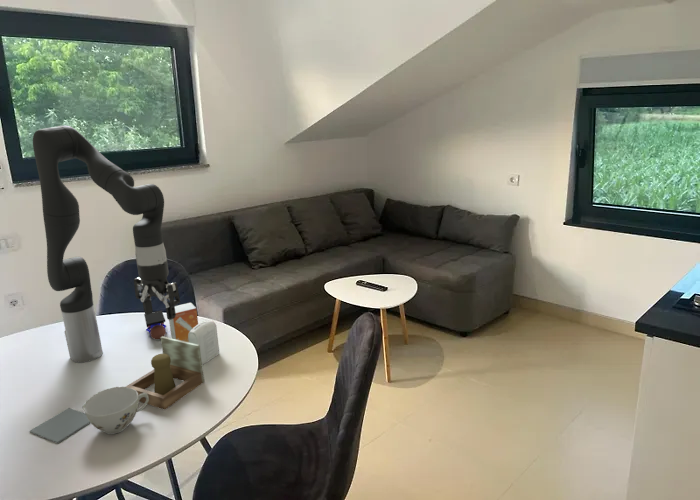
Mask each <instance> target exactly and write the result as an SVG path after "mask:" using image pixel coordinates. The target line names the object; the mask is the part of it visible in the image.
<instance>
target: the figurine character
mask: <svg viewBox="0 0 700 500" xmlns="http://www.w3.org/2000/svg"><path fill="white" fill-rule="evenodd" d="M143 315H144V320H145V326H146V329H145V331H146V332H148V333H149V334H150V337H151V338H152V339H153V340H161V338H160V337H162V336H164V337H166V331H167V330H166V327H167V325H166V324H165V322H166V317H165V316H164V312H163V310H162V309H161V310H156V311H153V312H152V313H150V314H148V315H147V314H145V313H143Z"/></svg>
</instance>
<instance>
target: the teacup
mask: <svg viewBox="0 0 700 500" xmlns="http://www.w3.org/2000/svg"><path fill="white" fill-rule="evenodd" d="M142 397H145V398H146V402H145V403H142V405H141V406H140V407H139V403H140V402H139V400H140V399H141V398H142ZM148 401H149V397H148V394H147V393H142V394H140V395H138V393H137V391H136V390H134V389H132V388H127V387H126V386H115V387H110V388H106V389H103V390H100V391H99V392H97V393H95V394H93V395H92V396H90V398H89V399H87V400H86V401H85V403H84V404H83V406H82V409H83V413H85V414H86V416H87V418H88V420H89V421H90V422H91V423H90V424H91V425H92V426H93V427H94V428H95V429H97V430H98V431H101V432H104V433H105V434H109V435H112V434H113V435H114V434H118V433H121V432H123V431H124V430H125V429H126V428H127V427H129V425H130V424H131V423H132V421H133V420H134V418H135V417H136V414H137V413H139V412H140V411H142V410H143V409H145V407H146V406H147V405H148V404H147V403H148Z"/></svg>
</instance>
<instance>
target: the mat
mask: <svg viewBox="0 0 700 500" xmlns="http://www.w3.org/2000/svg"><path fill="white" fill-rule="evenodd" d="M90 424H91V422H90V421H89V420H88V418H87V416H86V414H85V412H84V411H83V412H82V411H81V410H80V411H79V410H77V409H74V408H73V407H72V408H71V407H68V408H65V410H62V411H61V412H59V413H57V414H56V415H55V416H53V417H51V418H49V419H47V420H45V421H44V422H42V423H41V424H39V425H37V426H35V427H33V428H31V429H29V433H31V434H33V435H36V436H37V437H41V438H43V439H45V440H49V441H50V442H53V443H55V444H59V443H61V442H62V441H64V440H66V439H67V438H69V437H71V436H72V435H74V434H75V433H77V432H78V431H80V430H82V429H83V428H85V427H86V426H88V425H90Z"/></svg>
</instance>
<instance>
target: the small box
mask: <svg viewBox="0 0 700 500" xmlns="http://www.w3.org/2000/svg"><path fill="white" fill-rule="evenodd" d="M197 311H198V309H197V307H196V306H195V305H194V304H193V303H192V302H187V303H183V304H179V305H178V304H177V305H175V313H176V316H175V318H173V319H171V320H168V322H169V330H170V331H169V332H170V336H171V337H170V338H172V339H176V340H181V341H185V342H189V340H188V334H189V332H190V331H191V330H192V329H193V328H194V327H195V326H196V325H198V324H199V319H198V312H197Z"/></svg>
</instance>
